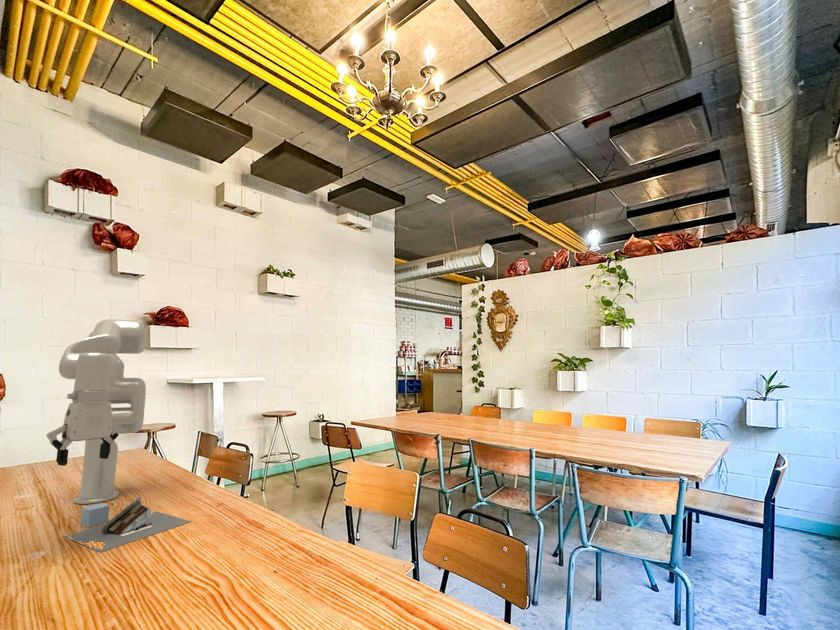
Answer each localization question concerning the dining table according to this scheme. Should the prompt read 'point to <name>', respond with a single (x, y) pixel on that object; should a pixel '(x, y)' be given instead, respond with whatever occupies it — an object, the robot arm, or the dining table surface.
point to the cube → (94, 515)
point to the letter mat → (128, 532)
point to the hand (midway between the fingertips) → (83, 461)
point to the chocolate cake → (129, 518)
